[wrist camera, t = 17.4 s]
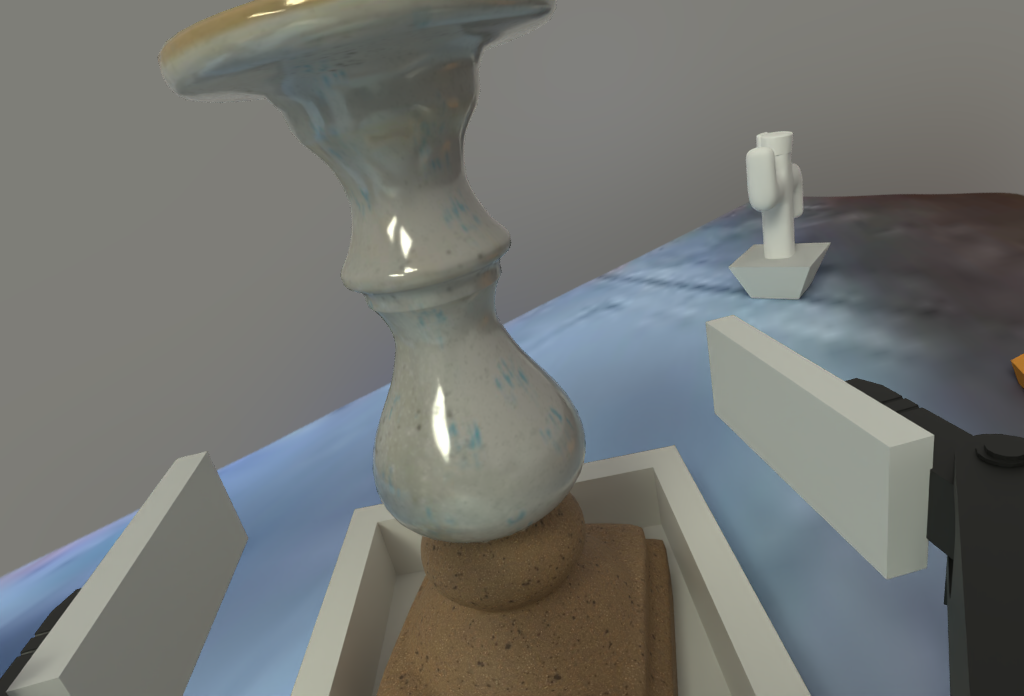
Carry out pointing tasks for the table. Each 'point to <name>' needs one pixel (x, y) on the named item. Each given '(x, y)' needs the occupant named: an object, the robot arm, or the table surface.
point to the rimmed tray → (603, 499)
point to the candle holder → (450, 352)
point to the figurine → (777, 224)
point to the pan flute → (1019, 369)
